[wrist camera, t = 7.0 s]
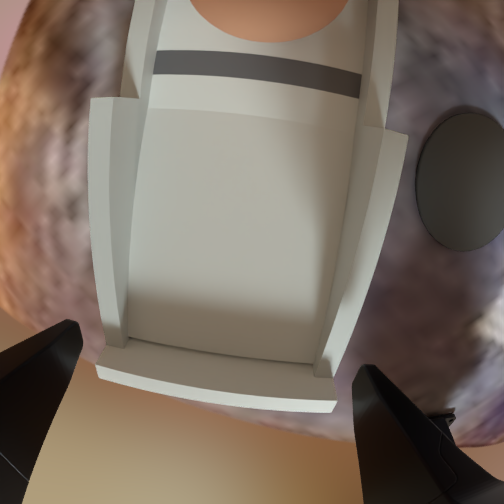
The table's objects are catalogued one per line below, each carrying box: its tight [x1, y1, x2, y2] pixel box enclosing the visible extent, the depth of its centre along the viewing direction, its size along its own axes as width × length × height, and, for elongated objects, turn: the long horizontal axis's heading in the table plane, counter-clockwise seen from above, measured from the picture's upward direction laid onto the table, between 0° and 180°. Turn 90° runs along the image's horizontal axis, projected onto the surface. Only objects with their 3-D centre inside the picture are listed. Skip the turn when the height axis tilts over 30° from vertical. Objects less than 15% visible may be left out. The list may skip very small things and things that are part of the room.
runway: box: [88, 0, 409, 413], centre depth 9 cm, size 18×9×6 cm, turn 173°
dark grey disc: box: [416, 113, 504, 251], centre depth 12 cm, size 7×7×1 cm
